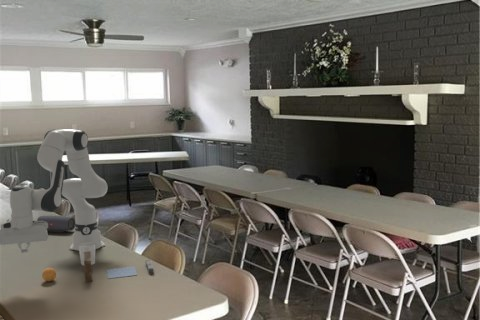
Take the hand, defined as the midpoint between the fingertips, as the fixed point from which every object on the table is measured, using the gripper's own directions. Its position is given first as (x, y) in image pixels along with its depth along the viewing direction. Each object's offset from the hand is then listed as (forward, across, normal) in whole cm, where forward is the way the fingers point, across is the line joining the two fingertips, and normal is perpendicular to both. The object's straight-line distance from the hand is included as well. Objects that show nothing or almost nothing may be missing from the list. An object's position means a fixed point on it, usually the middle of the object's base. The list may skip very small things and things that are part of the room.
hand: (24, 252), depth 231 cm
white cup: (+15, -27, -20) cm, 36 cm away
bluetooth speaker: (+14, -8, -96) cm, 97 cm away
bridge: (+14, -27, 0) cm, 30 cm away
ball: (+12, -10, 0) cm, 15 cm away
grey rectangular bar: (+14, -55, 0) cm, 56 cm away
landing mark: (+14, -42, 0) cm, 44 cm away
